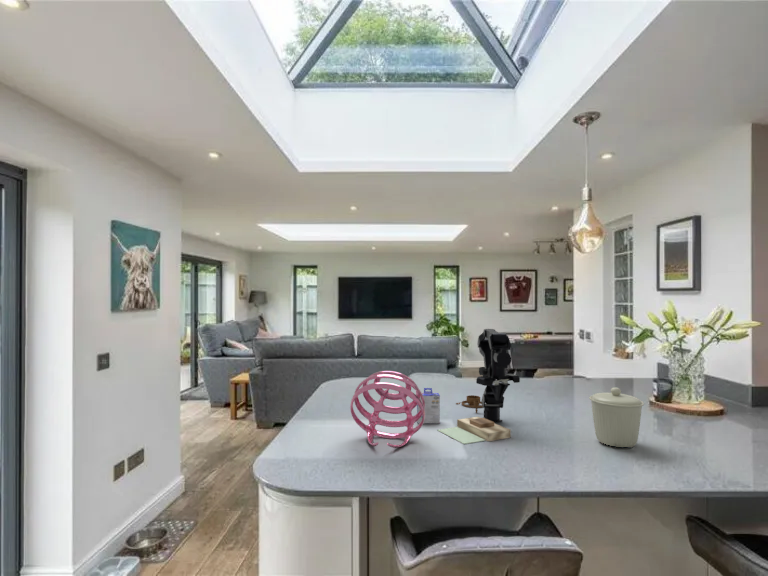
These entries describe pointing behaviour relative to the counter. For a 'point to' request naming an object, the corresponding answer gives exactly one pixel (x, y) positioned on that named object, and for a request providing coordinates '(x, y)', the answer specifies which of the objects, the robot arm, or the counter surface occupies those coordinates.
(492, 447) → the counter surface
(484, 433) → the board
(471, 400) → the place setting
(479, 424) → the walnut coaster
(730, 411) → the counter surface
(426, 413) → the ink cartridge box
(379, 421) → the spiral basket
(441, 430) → the sage mat
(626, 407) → the canister
